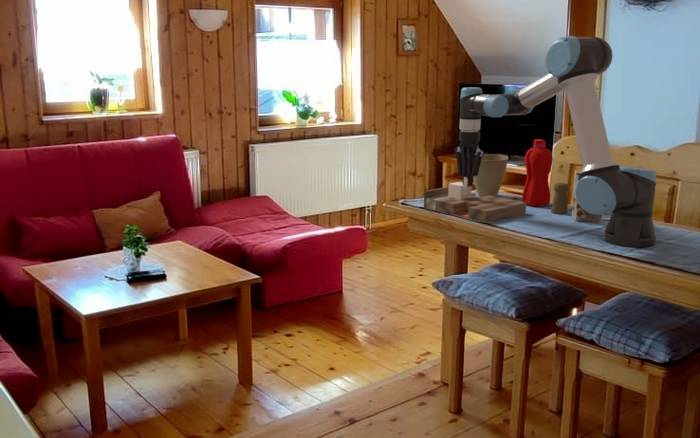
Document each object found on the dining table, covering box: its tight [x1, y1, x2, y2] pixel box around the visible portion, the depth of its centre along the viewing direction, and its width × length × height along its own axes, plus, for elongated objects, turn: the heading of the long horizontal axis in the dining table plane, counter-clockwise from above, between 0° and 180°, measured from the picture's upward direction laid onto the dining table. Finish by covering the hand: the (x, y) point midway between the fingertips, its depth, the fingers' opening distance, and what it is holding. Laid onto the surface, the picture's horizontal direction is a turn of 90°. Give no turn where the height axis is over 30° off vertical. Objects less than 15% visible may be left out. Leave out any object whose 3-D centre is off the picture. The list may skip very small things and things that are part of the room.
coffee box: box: [571, 172, 603, 223], centre depth 247 cm, size 9×6×16 cm
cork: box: [550, 182, 570, 216], centre depth 258 cm, size 6×6×11 cm
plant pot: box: [473, 153, 509, 197], centre depth 286 cm, size 15×15×16 cm
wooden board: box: [423, 186, 527, 224], centre depth 262 cm, size 30×22×6 cm
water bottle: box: [521, 138, 554, 208], centre depth 270 cm, size 9×11×25 cm
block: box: [447, 181, 471, 199], centre depth 266 cm, size 6×6×5 cm
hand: (467, 194), depth 264 cm, fingers closed
